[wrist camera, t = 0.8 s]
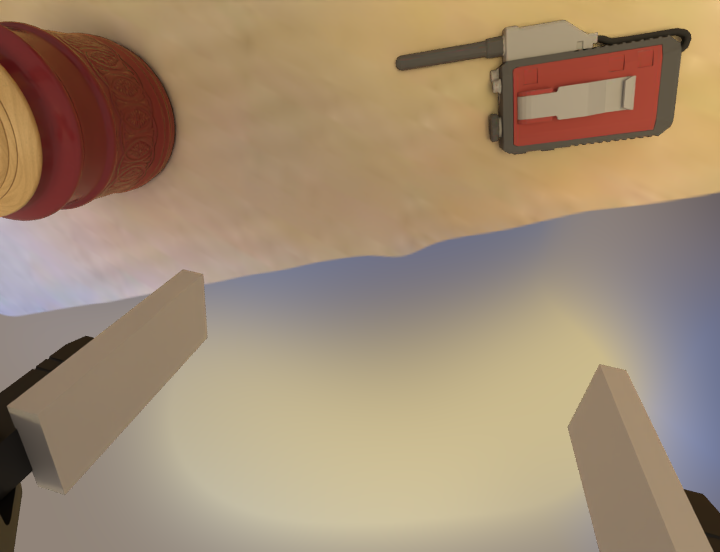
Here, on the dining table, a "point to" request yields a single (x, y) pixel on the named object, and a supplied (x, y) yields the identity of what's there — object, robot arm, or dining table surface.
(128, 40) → the dining table surface
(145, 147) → the canister
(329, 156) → the dining table surface
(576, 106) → the walkie-talkie
